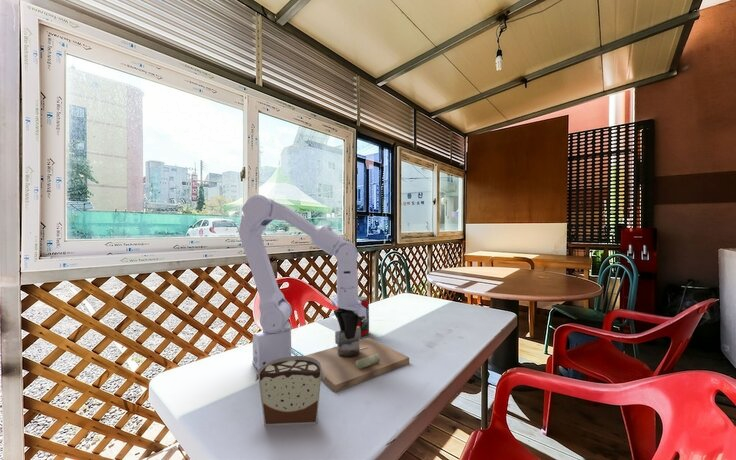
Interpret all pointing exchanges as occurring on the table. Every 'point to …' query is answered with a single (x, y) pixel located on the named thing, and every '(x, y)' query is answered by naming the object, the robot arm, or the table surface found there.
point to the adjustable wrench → (295, 352)
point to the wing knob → (348, 343)
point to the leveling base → (347, 365)
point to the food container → (290, 390)
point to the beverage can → (364, 320)
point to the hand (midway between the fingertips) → (348, 336)
